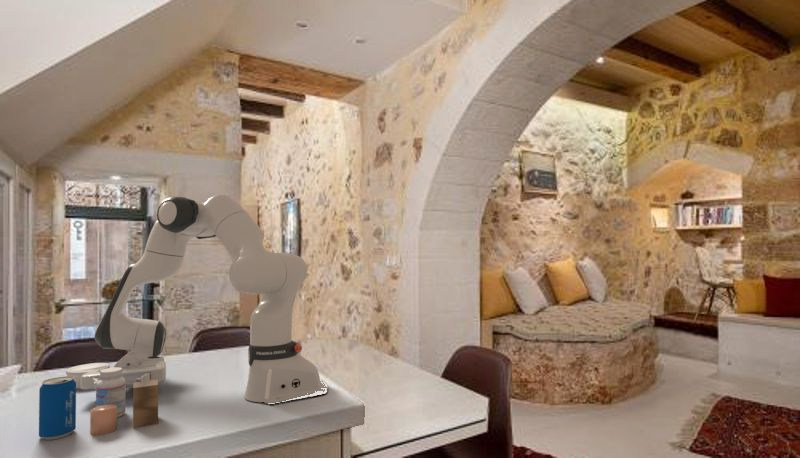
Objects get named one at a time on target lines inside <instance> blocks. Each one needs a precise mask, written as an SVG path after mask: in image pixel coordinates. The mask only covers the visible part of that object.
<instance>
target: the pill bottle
mask: <svg viewBox="0 0 800 458" xmlns="http://www.w3.org/2000/svg"><path fill="white" fill-rule="evenodd" d="M113 367H114V366H113ZM113 367H110V368H107V369H103V370H101V371H100V378H101V380H99V381H98V382H97V385H96V389H95V407H98V406H102V405H111V404H112V405H117V418H119V417H122V416H123V415H124V414H125V413H126V388H125V385H126V383H125V379H124V378H123V377H121V375H122V368H120V367H114V368H113Z"/></svg>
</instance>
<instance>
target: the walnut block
mask: <svg viewBox="0 0 800 458" xmlns="http://www.w3.org/2000/svg"><path fill="white" fill-rule="evenodd" d="M132 389H133V391H132V395H133V396H132V398H133V399H132V401H133V403H132V406H133V407H132V428H133V429H137V428H143V427H147V426H148V427H149V426H153V425H158V424H159V382H158V379H157V380H150V381H143V382H136V383H134V386H133V387H132Z"/></svg>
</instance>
